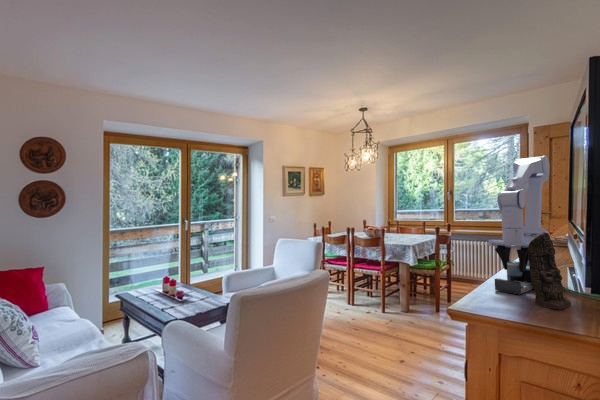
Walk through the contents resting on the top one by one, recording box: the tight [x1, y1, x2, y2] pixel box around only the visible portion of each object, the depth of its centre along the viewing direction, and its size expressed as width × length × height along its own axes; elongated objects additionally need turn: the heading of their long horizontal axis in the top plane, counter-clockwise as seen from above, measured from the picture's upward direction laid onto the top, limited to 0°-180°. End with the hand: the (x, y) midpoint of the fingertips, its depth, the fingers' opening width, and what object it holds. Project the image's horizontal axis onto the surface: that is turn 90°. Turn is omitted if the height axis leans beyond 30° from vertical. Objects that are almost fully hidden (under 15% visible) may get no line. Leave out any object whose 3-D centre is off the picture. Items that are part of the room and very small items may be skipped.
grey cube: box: [506, 260, 523, 276], centre depth 101 cm, size 4×4×4 cm
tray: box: [494, 277, 534, 295], centre depth 101 cm, size 11×7×4 cm, turn 121°
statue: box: [528, 232, 572, 311], centre depth 86 cm, size 7×7×20 cm
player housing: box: [506, 264, 532, 283], centre depth 105 cm, size 9×9×6 cm
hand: (514, 270), depth 101 cm, fingers closed on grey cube, 4 cm apart
